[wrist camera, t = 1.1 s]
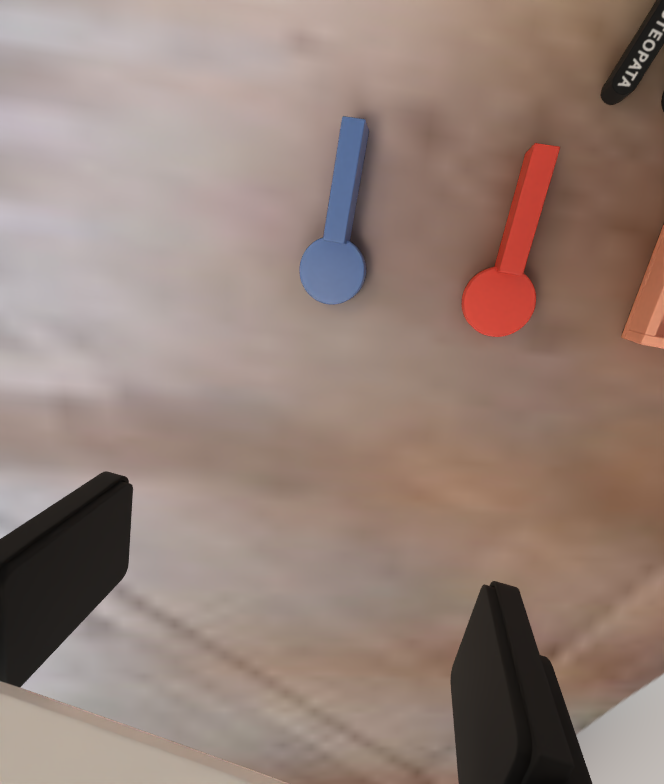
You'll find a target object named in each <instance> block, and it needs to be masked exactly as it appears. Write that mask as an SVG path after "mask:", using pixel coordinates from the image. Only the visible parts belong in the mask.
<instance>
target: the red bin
mask: <svg viewBox="0 0 664 784" xmlns="http://www.w3.org/2000/svg"><path fill="white" fill-rule="evenodd" d="M621 337H622V338H624V339H627V340H630V341H633V342H636V343H639V344H642V345H647V346H652V347H657V348H663V349H664V225H663V227H662V230H661V233H660V235H659V238H658V241H657V243H656V246H655V249H654V251H653V254H652V257H651V259H650V262H649V265H648V267H647V270H646V273H645V275H644V278H643V280H642V283H641V286H640V288H639V291H638V294H637V296H636V299H635V302H634V304H633V307H632V310H631V312H630V315H629V318H628V320H627V323H626V326H625V328H624V331H623V334H622V336H621Z"/></svg>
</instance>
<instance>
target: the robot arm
mask: <svg viewBox="0 0 664 784" xmlns="http://www.w3.org/2000/svg"><path fill="white" fill-rule="evenodd" d="M132 495H133V487H132V485H131V484H129V481H128V478H127V477H125V476H122V475H118V474H114V473H111V472H103V473H101V474H99V475H98V476H96V477H95V478H93V479H92V480H90V481H89V482H87V483H85V484H84V485H82V486H81V487H79V488H78V489H76V490H75V491H73V492H72V493H70V494H69V495H67V496H66V497H64V498H63V499H61V500H59V501H58V502H56V503H55V504H53V505H52V506H50V507H49V508H47V509H46V510H44V511H43V512H41V513H40V514H38V515H37V516H35V517H33V518H32V519H30V520H29V521H27V522H26V523H24V524H23V525H21V526H20V527H18V528H17V529H15V530H14V531H12V532H11V533H9V534H7V535H6V536H4V537H3V538H1V539H0V784H289V783H286V782H284V781H281V780H278V779H275V778H273V777H270V776H267V775H264V774H262V773H259V772H256V771H253V770H251V769H248V768H245V767H242V766H240V765H237V764H234V763H231V762H228V761H226V760H223V759H220V758H217V757H215V756H212V755H209V754H206V753H203V752H201V751H198V750H195V749H192V748H189V747H187V746H184V745H181V744H178V743H175V742H173V741H170V740H167V739H164V738H161V737H159V736H156V735H153V734H150V733H147V732H145V731H142V730H139V729H136V728H133V727H131V726H128V725H125V724H122V723H119V722H117V721H114V720H111V719H108V718H105V717H102V716H99V715H97V714H94V713H91V712H88V711H85V710H82V709H79V708H77V707H74V706H71V705H68V704H65V703H62V702H59V701H57V700H54V699H51V698H48V697H45V696H42V695H40V694H37V693H34V692H31V691H28V690H25V689H22V688H20V687H21V686H22V685H23V684H24V683H25V682H26V681H27V680H28V679H29V677H30V676H31V675H32V674H33V673H34V672H35V671H36V670H37V669H38V668H39V667H40V666H41V665H42V664H43V663H44V662H45V661H46V659H47V658H48V657H49V656H50V655H51V654H52V653H53V652H54V651H55V650H56V649H57V648H58V647H59V646H60V645H61V644H62V642H63V641H64V640H65V639H66V638H67V637H68V636H69V635H70V634H71V633H72V632H73V631H74V630H75V629H76V628H77V627H78V626H79V624H80V623H81V622H82V621H83V620H84V619H85V618H86V617H87V616H88V615H89V614H90V613H91V612H92V611H93V610H94V609H95V607H96V606H97V605H98V604H99V603H100V602H101V601H102V600H103V599H104V598H105V597H106V596H107V595H108V594H109V593H110V592H111V591H112V589H113V588H114V587H115V586H116V585H117V584H118V583H119V582H120V581H121V580H122V579H123V577H124V576H125V574H126V572H127V569H128V563H129V546H130V529H131V512H132ZM451 693H452V706H453V718H454V731H455V743H456V755H457V768H458V780H459V784H592V781H591V778H590V775H589V772H588V769H587V767H586V764H585V760H584V758H583V755H582V752H581V749H580V746H579V743H578V740H577V737H576V734H575V731H574V728H573V725H572V722H571V719H570V716H569V713H568V710H567V707H566V704H565V702H564V699H563V696H562V693H561V690H560V687H559V684H558V681H557V678H556V675H555V672H554V669H553V666H552V664H551V662H550V660H549V659H548V658H547V657H545V656H541V655H539V651H538V648H537V645H536V642H535V639H534V636H533V632H532V629H531V626H530V623H529V620H528V617H527V613H526V610H525V607H524V604H523V601H522V598H521V594H520V591H519V589H518V588H517V587H514V586H510V585H507V584H503V583H500V582H496V581H492V582H491V584H490V586H487V585H483V586H482V588H481V590H480V593H479V595H478V598H477V601H476V604H475V606H474V609H473V612H472V614H471V617H470V620H469V623H468V625H467V628H466V631H465V634H464V636H463V639H462V642H461V645H460V647H459V650H458V653H457V655H456V658H455V661H454V664H453V667H452V671H451Z"/></svg>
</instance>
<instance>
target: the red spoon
mask: <svg viewBox="0 0 664 784" xmlns="http://www.w3.org/2000/svg"><path fill="white" fill-rule="evenodd" d="M559 150H560V147H559V146H551V145H544V144H537V143H535V144H534V145H533V146H532V147H531V148H530V149H529V150H528V151H527V152H526V154H525V157H524V161H523V164H522V168H521V172H520V175H519V179H518V183H517V186H516V190H515V193H514V197H513V201H512V204H511V208H510V212H509V215H508V219H507V223H506V226H505V230H504V233H503V237H502V241H501V244H500V248H499V252H498V255H497V259H496V263H495V266H494V267H491V268H487V269H485V270H483V271H481V272H479V273H478V274H476V275H475V276H474V277H473V278H472V279H471V280H470V281H469V283H468V284H467V286H466V288H465V290H464V292H463V296H462V311H463V314H464V317H465V318H466V320H467V322H468V323H469V324H470V325H471V326H472V327H473V328H474V329H475V330H476V331H478V332H480V333H482V334H484V335H487V336H493V337H500V336H506V335H509V334H512V333H514V332H516V331H518V330H519V329H521V328H522V327H523V326H524V325H525V324H526V323H527V322H528V320H529V319H530V318H531V316H532V314H533V312H534V309H535V305H536V293H535V289H534V286H533V284H532V282H531V281H530V279H529V278H528V277H527V276H526V275H525V274H524V273H523V272H524V269H525V265H526V262H527V259H528V255H529V252H530V248H531V245H532V242H533V238H534V235H535V231H536V228H537V225H538V221H539V218H540V214H541V211H542V208H543V204H544V201H545V198H546V194H547V191H548V187H549V184H550V181H551V177H552V174H553V170H554V167H555V164H556V160H557V157H558V154H559Z"/></svg>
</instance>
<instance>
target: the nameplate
mask: <svg viewBox="0 0 664 784" xmlns="http://www.w3.org/2000/svg"><path fill="white" fill-rule="evenodd" d="M663 44H664V0H656V2H655V4H654V5H653V7H652V8H651V10H650V12H649V13H648V15H647V17H646V18H645V20H644V21H643V23H642V25H641V26H640V28H639V30H638V31H637V33H636V34H635V36H634V38H633V39H632V41H631V43H630V44H629V46H628V47H627V49H626V51H625V52H624V54H623V56H622V57H621V59H620V60H619V62H618V64H617V65H616V67H615V69H614V70H613V72H612V73H611V75H610V77H609V78H608V80H607V81H606V83H605V84H604V86H603V88H602V91H601V98H602V100H603V101H604V102H605V103H606V104H609V105H613V104H616V103H619V102H620V101H621V100H623V99H624V98H625V97H626V96H627V95H629V94H630V93H631V92H632V91H634V89H635V88H636V87H637V85H638V84H639V82H640V81H641V79H642V77H643V76H644V74H645V72H646V71H647V69H648V68H649V66H650V64H651V63H652V61H653V60H654V58H655V57H656V55H657V53H658V52H659V50H660V49H661V47H662V46H663ZM662 109H663V111H664V92H663V96H662Z"/></svg>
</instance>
